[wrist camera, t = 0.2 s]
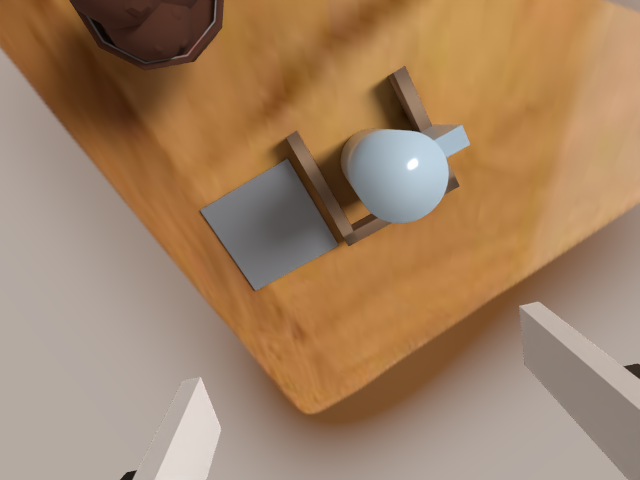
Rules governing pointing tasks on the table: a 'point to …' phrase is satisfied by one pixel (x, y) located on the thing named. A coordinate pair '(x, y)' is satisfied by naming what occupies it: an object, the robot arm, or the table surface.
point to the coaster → (270, 225)
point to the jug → (401, 169)
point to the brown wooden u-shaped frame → (349, 232)
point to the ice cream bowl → (152, 28)
